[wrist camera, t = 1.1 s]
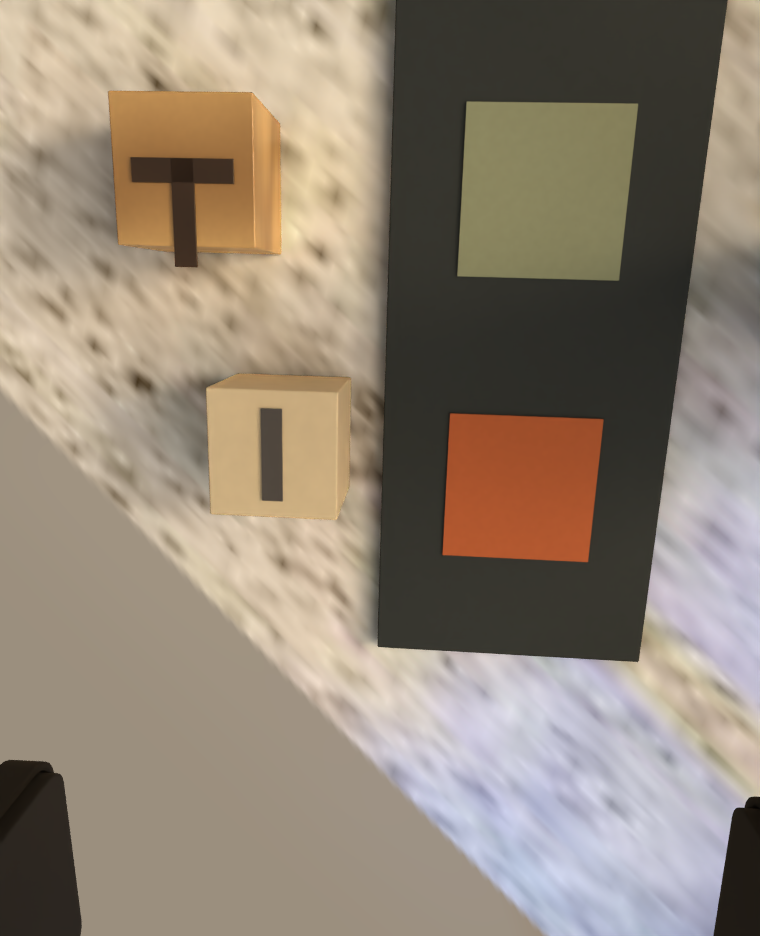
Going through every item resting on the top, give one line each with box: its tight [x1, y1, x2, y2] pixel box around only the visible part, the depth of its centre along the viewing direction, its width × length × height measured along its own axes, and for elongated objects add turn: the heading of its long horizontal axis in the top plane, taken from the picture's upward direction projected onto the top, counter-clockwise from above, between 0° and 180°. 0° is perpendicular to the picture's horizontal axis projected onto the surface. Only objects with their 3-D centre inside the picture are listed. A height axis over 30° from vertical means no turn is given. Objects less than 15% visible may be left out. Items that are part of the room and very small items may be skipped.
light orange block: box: [108, 91, 281, 267], centre depth 26 cm, size 6×5×5 cm
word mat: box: [378, 0, 728, 662], centre depth 29 cm, size 28×12×1 cm, turn 178°
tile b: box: [206, 373, 351, 520], centre depth 28 cm, size 5×5×5 cm
